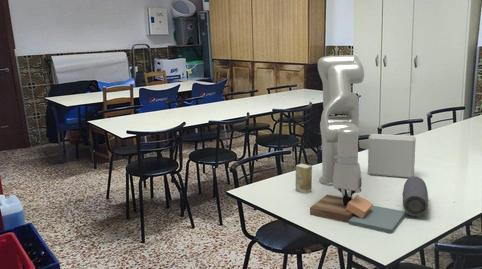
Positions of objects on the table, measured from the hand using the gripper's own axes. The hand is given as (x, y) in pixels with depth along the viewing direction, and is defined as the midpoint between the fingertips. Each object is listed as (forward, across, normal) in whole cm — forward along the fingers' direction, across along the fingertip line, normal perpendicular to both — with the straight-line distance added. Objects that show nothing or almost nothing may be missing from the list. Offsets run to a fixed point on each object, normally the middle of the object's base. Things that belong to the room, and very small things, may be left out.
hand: (347, 204), depth 167 cm
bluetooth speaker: (+4, +21, +18) cm, 28 cm away
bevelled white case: (+4, 0, +54) cm, 54 cm away
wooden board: (+4, -4, 0) cm, 6 cm away
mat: (+4, +12, 0) cm, 12 cm away
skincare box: (+4, -26, +14) cm, 30 cm away
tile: (0, +5, 0) cm, 5 cm away
